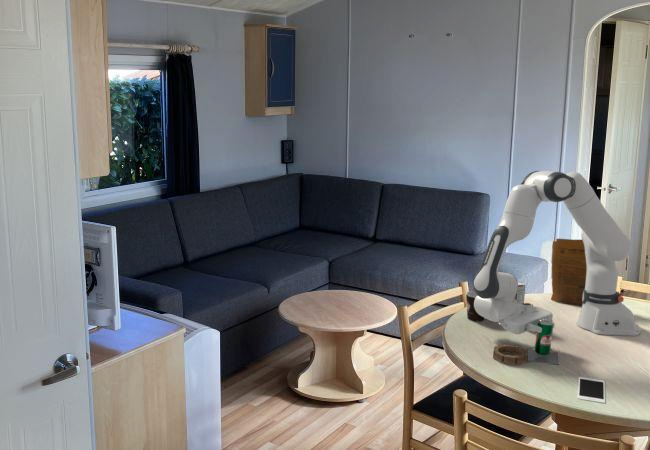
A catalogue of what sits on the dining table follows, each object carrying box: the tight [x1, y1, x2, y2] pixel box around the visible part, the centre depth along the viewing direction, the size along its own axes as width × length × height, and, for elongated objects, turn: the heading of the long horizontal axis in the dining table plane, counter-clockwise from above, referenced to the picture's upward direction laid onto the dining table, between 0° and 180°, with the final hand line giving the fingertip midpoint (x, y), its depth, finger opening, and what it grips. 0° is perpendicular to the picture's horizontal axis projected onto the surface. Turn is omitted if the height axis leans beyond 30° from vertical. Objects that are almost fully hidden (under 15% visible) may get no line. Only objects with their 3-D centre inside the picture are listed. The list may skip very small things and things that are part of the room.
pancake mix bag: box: [550, 238, 587, 307], centre depth 297 cm, size 7×19×28 cm, turn 68°
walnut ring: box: [492, 344, 528, 366], centre depth 245 cm, size 11×11×2 cm
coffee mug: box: [465, 290, 485, 323], centre depth 281 cm, size 12×9×10 cm
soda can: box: [534, 318, 554, 355], centre depth 244 cm, size 5×5×12 cm
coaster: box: [527, 348, 560, 366], centre depth 246 cm, size 10×10×1 cm
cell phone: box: [577, 376, 606, 404], centre depth 223 cm, size 8×16×1 cm, turn 160°
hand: (547, 328), depth 243 cm, fingers closed on soda can, 5 cm apart
